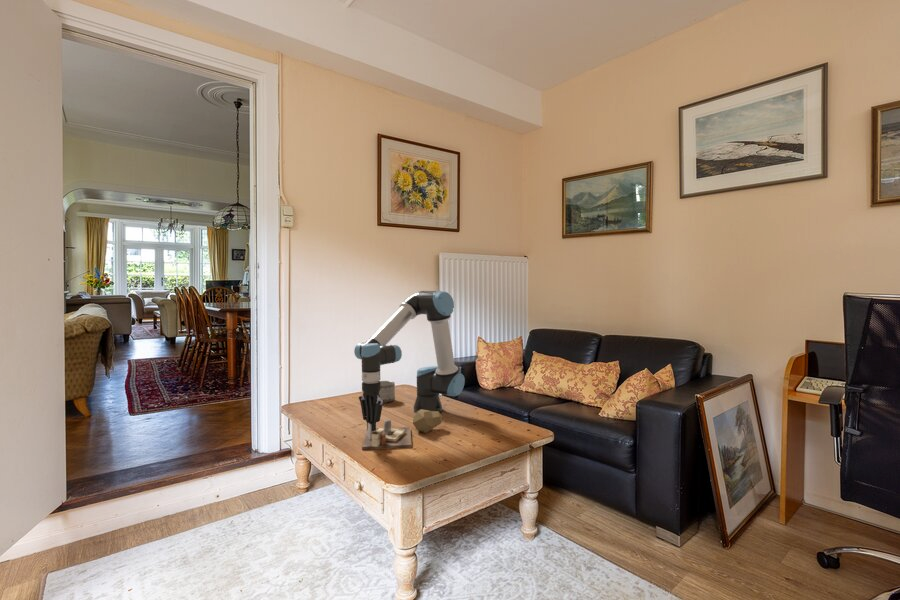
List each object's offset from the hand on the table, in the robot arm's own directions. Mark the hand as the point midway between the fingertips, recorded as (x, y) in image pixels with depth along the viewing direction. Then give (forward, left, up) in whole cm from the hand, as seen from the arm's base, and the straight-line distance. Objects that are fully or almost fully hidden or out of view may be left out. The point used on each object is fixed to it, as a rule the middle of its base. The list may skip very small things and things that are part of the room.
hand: (371, 437), depth 180 cm
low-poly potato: (-24, -17, -4) cm, 30 cm away
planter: (-2, -70, -4) cm, 70 cm away
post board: (-6, -8, -4) cm, 11 cm away
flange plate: (-5, -5, -2) cm, 7 cm away
